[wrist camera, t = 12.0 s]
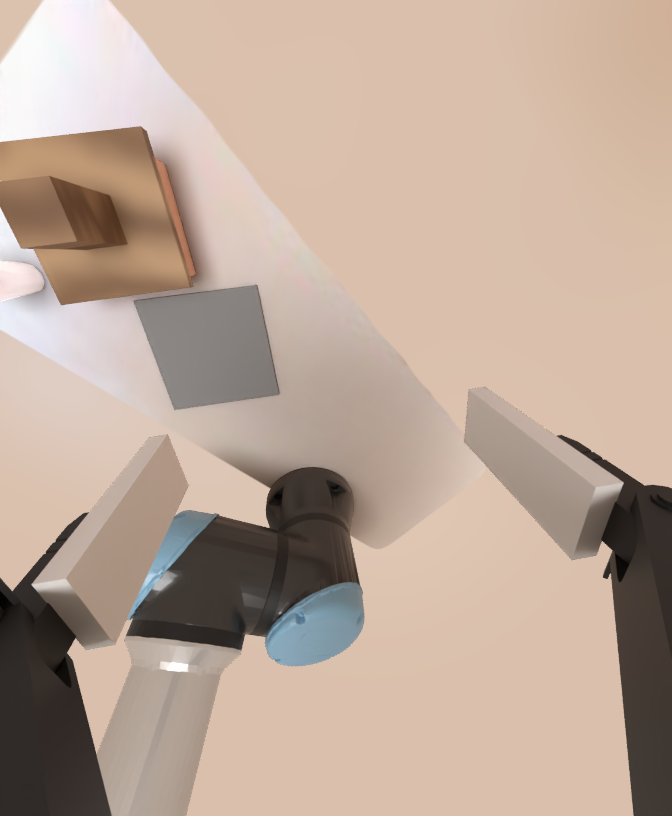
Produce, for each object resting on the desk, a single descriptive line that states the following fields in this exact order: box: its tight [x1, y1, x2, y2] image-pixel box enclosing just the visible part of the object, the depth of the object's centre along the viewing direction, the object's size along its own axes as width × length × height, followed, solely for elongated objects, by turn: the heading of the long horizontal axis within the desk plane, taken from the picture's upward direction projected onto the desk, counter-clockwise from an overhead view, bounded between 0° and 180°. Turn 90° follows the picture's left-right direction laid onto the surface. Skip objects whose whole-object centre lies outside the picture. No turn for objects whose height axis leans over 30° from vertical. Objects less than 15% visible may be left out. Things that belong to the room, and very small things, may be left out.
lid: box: [0, 126, 193, 305], centre depth 27 cm, size 13×13×9 cm
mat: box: [134, 285, 279, 410], centre depth 43 cm, size 15×15×1 cm
